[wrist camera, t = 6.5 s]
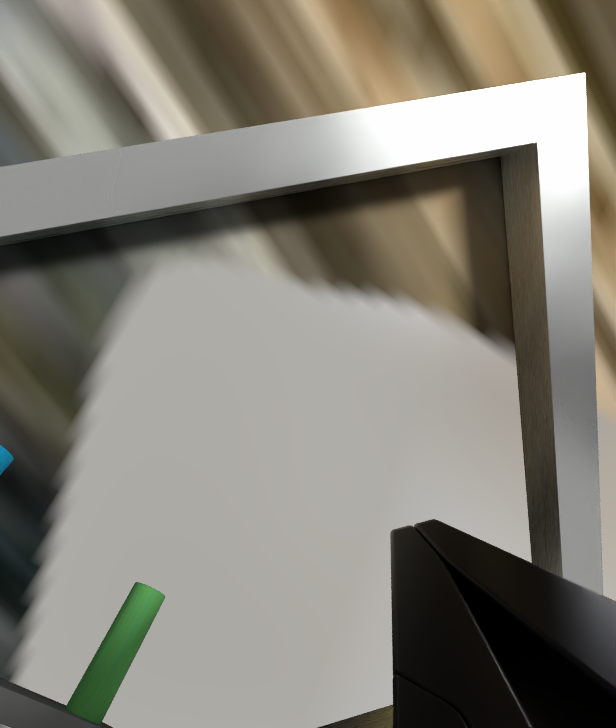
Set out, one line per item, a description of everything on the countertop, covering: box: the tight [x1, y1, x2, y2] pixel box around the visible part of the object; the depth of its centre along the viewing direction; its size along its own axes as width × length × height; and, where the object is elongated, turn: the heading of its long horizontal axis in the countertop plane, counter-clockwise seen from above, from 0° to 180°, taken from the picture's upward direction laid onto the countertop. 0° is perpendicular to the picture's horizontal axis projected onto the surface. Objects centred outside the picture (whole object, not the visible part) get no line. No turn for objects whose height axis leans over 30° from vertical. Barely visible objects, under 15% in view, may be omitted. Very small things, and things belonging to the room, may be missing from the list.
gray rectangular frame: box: [0, 73, 603, 728], centre depth 10 cm, size 18×15×1 cm
